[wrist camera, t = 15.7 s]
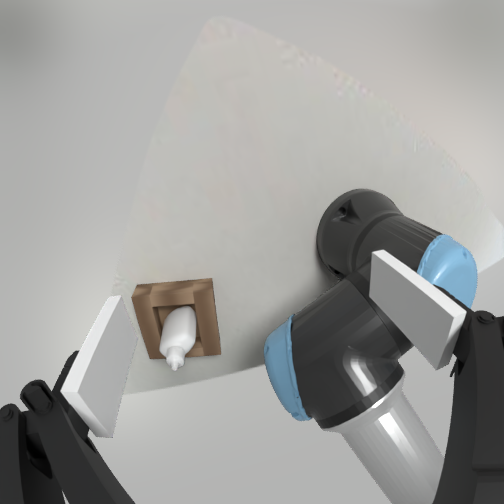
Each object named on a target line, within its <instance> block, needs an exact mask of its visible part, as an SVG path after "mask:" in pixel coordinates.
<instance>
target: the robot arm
mask: <svg viewBox="0 0 504 504" xmlns="http://www.w3.org/2000/svg"><path fill="white" fill-rule="evenodd" d="M317 246H318V251H319V255H320V257H321V259H322V261H323V263H324V264H325V265H326V266H327V268H328V269H329V270H330V271H331V272H332V273H333V274H334V275H336V276H337V277H339V278H340V279H342V280H341V281H340V282H338V283H337V284H336V285H335V286H333V287H332V288H331V289H329V290H328V291H327V292H326V293H324V294H323V295H322V296H320V297H319V298H318V299H316V300H315V301H314V302H312V303H311V304H310V305H308V306H307V307H306V308H304V309H303V310H302V311H300V312H299V313H297V314H296V315H295V314H292V315H291V316H290V317H289V318H288V320H287V321H286V322H285V323H283V324H282V325H281V326H279V327H278V328H277V329H276V330H274V331H273V332H272V333H271V334H270V335H269V336H268V337H267V339H266V342H265V345H264V358H265V359H264V360H265V365H266V369H267V373H268V376H269V379H270V382H271V384H272V386H273V389H274V391H275V393H276V394H277V396H278V398H279V400H280V402H281V403H282V405H283V406H284V408H285V409H286V410H287V411H288V412H289V413H291V414H292V416H293V417H294V418H295V419H296V420H299V421H305V420H310V419H312V418H314V419H315V420H316V422H317V423H318V425H319V426H320V427H321V429H322V430H324V431H332V432H338V433H341V434H342V436H343V437H344V438H345V440H346V441H347V443H348V444H349V446H350V447H351V448H352V450H353V451H354V453H355V454H356V455H357V457H358V458H359V460H360V461H361V462H362V464H363V465H364V466H365V468H366V469H367V471H368V472H369V473H370V475H371V476H372V477H373V479H374V480H375V482H376V483H377V484H378V485H379V487H380V488H381V490H382V491H383V492H384V494H385V495H386V496H387V498H388V499H389V500H390V501H391V503H392V504H504V316H502V317H495V316H494V315H493V314H491V313H489V312H487V311H476V312H473V311H472V310H471V306H472V303H473V300H474V297H475V293H476V288H477V267H476V263H475V260H474V258H473V256H472V254H471V253H470V251H469V250H468V249H466V248H465V247H464V246H462V245H461V244H459V243H458V242H456V241H455V240H453V238H452V237H450V236H449V235H445V234H442V233H440V232H438V231H436V230H433V229H431V228H429V227H427V226H425V225H423V224H421V223H419V222H417V221H414V220H412V219H410V218H408V217H406V216H404V215H403V214H402V213H401V212H400V210H399V209H398V208H397V207H396V205H395V204H394V203H393V202H392V201H391V200H390V199H389V198H388V197H386V196H385V195H383V194H381V193H378V192H376V191H373V190H369V189H356V190H352V191H349V192H346V193H344V194H343V195H341V196H340V197H338V198H337V199H336V200H335V201H334V202H333V203H332V204H331V205H330V206H329V207H328V208H327V210H326V211H325V213H324V215H323V217H322V219H321V221H320V224H319V228H318V233H317ZM137 340H138V337H137V335H136V332H135V330H134V327H133V325H132V322H131V320H130V317H129V314H128V312H127V309H126V306H125V304H124V301H123V298H122V295H120V296H113V297H108V299H107V301H106V302H105V304H104V306H103V308H102V310H101V311H100V313H99V315H98V317H97V319H96V320H95V322H94V324H93V326H92V328H91V330H90V332H89V334H88V335H87V337H86V339H85V341H84V343H83V345H82V347H81V349H80V351H75V352H74V353H73V354H72V355H71V356H70V357H69V358H68V359H67V361H66V363H65V365H64V368H63V369H62V371H61V374H60V375H59V377H58V379H57V382H56V384H55V386H54V388H53V390H52V391H51V390H50V389H49V387H48V386H47V384H46V383H45V381H43V380H34V381H31V382H30V383H28V384H27V385H26V386H25V387H24V388H23V389H22V391H21V394H20V399H21V400H22V402H23V403H24V404H25V406H26V407H27V408H28V409H29V411H24V412H21V411H20V410H19V408H18V407H17V406H16V405H15V404H7V405H5V406H3V407H2V408H1V409H0V504H65V500H64V497H63V493H62V491H63V492H64V494H65V497H66V498H67V500H68V502H69V504H135V503H134V501H133V500H132V499H131V497H130V496H129V495H128V494H127V492H126V491H125V490H124V488H123V487H122V486H121V484H120V483H119V482H118V480H117V479H116V478H115V476H114V475H113V473H112V472H111V470H110V469H109V468H108V466H107V465H106V463H105V462H104V460H103V459H102V457H101V455H100V454H99V452H98V451H97V449H96V447H95V446H94V444H93V443H92V441H91V440H90V438H89V437H88V436H87V435H88V431H89V429H90V430H91V431H92V432H93V433H94V434H95V436H96V437H106V438H113V433H114V428H115V424H116V420H117V415H118V411H119V407H120V403H121V399H122V395H123V391H124V387H125V383H126V379H127V375H128V372H129V368H130V364H131V361H132V357H133V354H134V350H135V347H136V344H137ZM413 346H415V347H416V348H417V349H418V350H419V351H420V352H421V354H422V355H423V356H424V357H425V358H426V359H427V360H428V361H429V363H430V364H431V365H432V366H433V367H434V368H435V370H438V369H440V368H442V367H444V366H446V365H448V364H449V362H450V359H451V357H452V354H454V355H455V356H456V357H457V359H456V362H455V364H454V367H453V369H452V372H451V374H450V377H452V375H453V373H454V372H455V378H454V394H453V406H452V416H451V423H450V430H449V437H448V443H447V448H446V454H445V459H444V457H443V456H442V454H441V452H440V450H439V449H438V447H437V446H436V444H435V442H434V441H433V439H432V437H431V436H430V434H429V433H428V431H427V429H426V428H425V426H424V425H423V423H422V421H421V420H420V418H419V417H418V415H417V414H416V412H415V411H414V409H413V407H412V406H411V404H410V403H409V401H408V400H407V398H406V397H405V395H404V394H403V392H402V385H403V381H404V377H405V371H404V370H403V368H402V367H401V365H400V364H399V362H398V359H399V358H400V357H401V356H402V355H403V354H405V353H406V352H407V351H408V350H409V349H411V348H412V347H413Z"/></svg>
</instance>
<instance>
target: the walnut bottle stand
mask: <svg viewBox="0 0 504 504" xmlns="http://www.w3.org/2000/svg"><path fill="white" fill-rule="evenodd" d="M131 298H132V301H133V305H134V309H135V312H136V316H137V319H138V323H139V326H140V329H141V333H142V336H143V339H144V342H145V345H146V348H147V351H148V354H149V357H150V359H163V358H166V357H165V356H164V355H163V354H162V353H161V352H160V341H161V336H162V330H163V325H164V321H165V319H166V318H167V316H168V315H169V314H170V313H171V312H172V311H174V310H175V309H177V308H180V307H183V306H190V307H191V308H192V309H193V310H194V311H195V312H196V315H197V317H196V338H195V343H194V345H193V347H192V348H191V349H190V351H189V352H188V353H186V354H185V357H197V356H209V355H220V354H221V347H220V337H219V329H218V322H217V314H216V307H215V299H214V291H213V282H212V278H209V279H198V280H187V281H176V282H164V283H152V284H140V285H137V286H136V288H135V291H134V293H133V295H132V297H131Z"/></svg>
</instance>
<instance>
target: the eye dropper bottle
mask: <svg viewBox="0 0 504 504" xmlns="http://www.w3.org/2000/svg"><path fill="white" fill-rule="evenodd" d="M196 317H197V315H196V312H195V311H194V310H193V309H192V308H191V307H190V306H183V307H180V308H177V309H175V310H174V311H172V312H171V313H170V314H169V315H168V316H167V318H166V319H165V321H164V325H163V330H162V336H161V341H160V352H161V353H162V354H163V355H164V356H165V357H166V362H167V364H168V365H169V366H171V367H172V370H173V371H176V370H177V369H178V368H179V367H182V366H183V365H184V361H185V354H186V353H188V352H189V351H190V349H191V348H192V347H193V345H194V343H195V338H196Z"/></svg>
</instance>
